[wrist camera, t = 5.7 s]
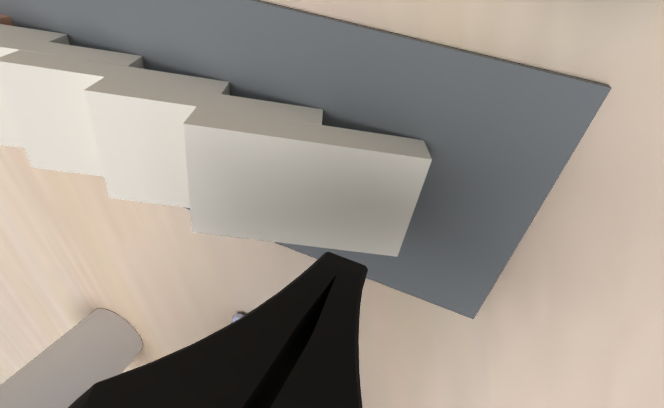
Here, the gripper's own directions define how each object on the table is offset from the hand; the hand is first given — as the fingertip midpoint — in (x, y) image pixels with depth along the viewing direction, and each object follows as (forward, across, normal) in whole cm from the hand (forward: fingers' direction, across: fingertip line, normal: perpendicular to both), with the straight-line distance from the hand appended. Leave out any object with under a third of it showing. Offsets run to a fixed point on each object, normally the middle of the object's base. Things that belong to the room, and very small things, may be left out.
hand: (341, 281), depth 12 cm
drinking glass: (+7, +21, +25) cm, 33 cm away
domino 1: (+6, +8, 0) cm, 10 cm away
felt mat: (+7, +10, 0) cm, 12 cm away
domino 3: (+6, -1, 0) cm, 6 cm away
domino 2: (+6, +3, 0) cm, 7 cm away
